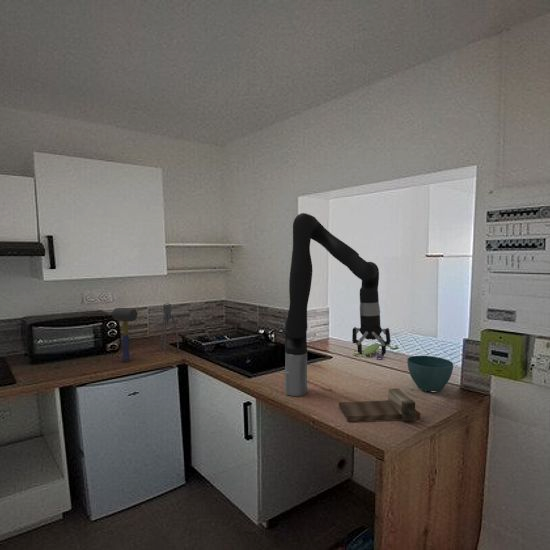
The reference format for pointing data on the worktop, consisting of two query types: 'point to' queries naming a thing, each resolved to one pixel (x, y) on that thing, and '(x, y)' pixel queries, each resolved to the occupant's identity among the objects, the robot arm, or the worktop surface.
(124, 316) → the rubber mallet
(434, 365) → the plant pot
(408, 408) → the beige wooden block
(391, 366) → the worktop surface
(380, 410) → the walnut plank
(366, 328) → the robot arm
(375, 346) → the figurine
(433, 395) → the worktop surface
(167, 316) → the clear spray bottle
